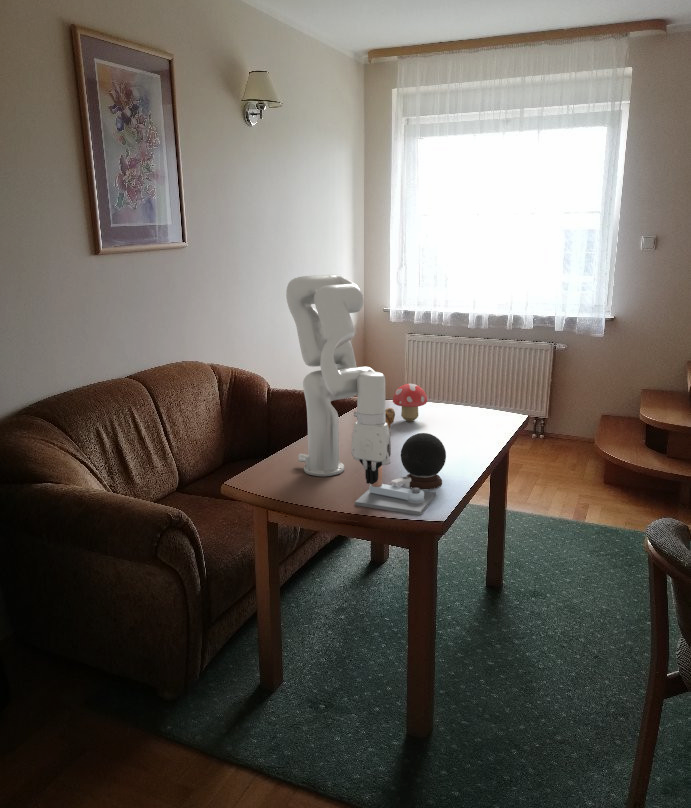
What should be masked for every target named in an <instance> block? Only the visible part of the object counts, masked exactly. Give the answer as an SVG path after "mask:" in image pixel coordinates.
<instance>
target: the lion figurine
mask: <svg viewBox="0 0 691 808" xmlns="http://www.w3.org/2000/svg"><path fill="white" fill-rule="evenodd" d="M395 416H396V411H395V409H394V408H393V407H387V408H385V423H387V424H388V428H389V430H390V428H391V425H393V423H394V421H395V418H396V417H395ZM389 434H390V435H391V431H389Z"/></svg>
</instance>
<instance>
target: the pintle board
mask: <svg viewBox="0 0 691 808" xmlns="http://www.w3.org/2000/svg"><path fill="white" fill-rule="evenodd" d="M390 481H391V482H390V483H391V484H390V485H391V486H397V487H399V486H401V485H402V488H407V489H411V488H410V482H411V478H410V477H407V475H406V476H403V477H399V478H395V479H392V480H390ZM423 491H424V501H422V502H411V501H409V500H405V499H400V498H395V497H390V496H385V495H380V494H375V493H370V492H369V489H366V491H365V492H364V493H363V494H361V496H360V497H359V498H357V499H356V500H355V501H354V505H355V506H358V507H365V508H372V509H377V510H385V511H390V512H396V513H397V512H398V513H403V514H410V515H416V516H421V515H422V514H423V513H424V511H426V509H427V508H428V506H429V505H430V504H431V503H432V501H434V499H435V498H436V496H437V492H436V491H430V490H428V491H427V490H423Z"/></svg>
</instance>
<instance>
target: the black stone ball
mask: <svg viewBox="0 0 691 808" xmlns="http://www.w3.org/2000/svg"><path fill="white" fill-rule="evenodd" d="M400 450H401V451H400V459H401V460H400V461H401V464H402V466H403V468H404V469H405V471H406V472H407V473H408V474H407V475H406V476H407V477H410V478H411V482H410V487H412V488H419V489H420V490H421V489H428V490H434V488H435V489H438V488H440V487H441V486H442V485H443V480H442V478H441V476H440V475H439V473H440V471H442V470H443V467H444V466H445V464H446V459H447V451H446V449H445V445H444V444H443V442H442V440H441V439H439V438H438V437H437V436H435V435H433V434H431V433H428V432H420V433H415V434H412V435H411V436H410V437H409V438H407V439H406V440H405V442H403V444H402V447H401V449H400ZM439 486H440V487H439ZM437 487H438V488H437ZM412 488H411V489H412Z"/></svg>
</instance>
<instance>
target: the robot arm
mask: <svg viewBox="0 0 691 808" xmlns="http://www.w3.org/2000/svg"><path fill="white" fill-rule="evenodd" d="M285 296H286V303H287V307H288V309H289V312H290V314H291V316H292V319H293V320H294V323H295V327H296V331H297V337H298V343H299V348H300V352H301V356H302V360H303V362H304V364H305V365H306V366H308V367H312V368H314V367H320V370H315V371H311V372H309V373H308V374H306V375H305V376H304V378H303V382H302V388H303V389H302V390H303V394H304V399H305V405H306V418H307V419H306V420H307V446H308V448H307V449H308V450H307V452H308V453H307V454H305V453H299V454H298V455H297V457H298V460H297V461H298V463H304V464H305V465H304V466H303V471H304V472H305V474H307V475H309V476H314V477H331V476H332V477H333V476H336V475H338V474H341V473H343V472H344V470H345V465H344V464H343V463H342V462H340V437H339V436H340V429H339V423H340V422H339V414H338V411H337V410H336V409H335V407H334V406H333V405H332V403H331V402H332V401H337V400H343V399H344V400H345V399H350V398H353V397H355V396H356V397H357V398H356V399H357V400H356V401H357V407H356V408H357V410H356V411H354V412H353V416H354V417H356V421H355V422H354V424H353V430H352V437H351V438H352V439H351V455H352V457H353V460H356V461H358V462H359V463H360V464H361V465H362V466H363V469H364V470H365V472H364V473H365V481H366V484H368V485H369V484H370V485H371V484H374V483H375V482H377V480H378V468H380V467H381V466H382V467H383V466H388V465H390V464H391V459H390V457H391V455H392V453H391V451H392V450H391V449H392V447H391V445H392V444H391V436H390V435H391V433H390V434H389V432H390V429H389V428H388V424H387V423H385V410H386V377H385V374H383V373H382V372H380V371H375V370H374V369H373V368H371V367H370V366H357V362H356V356H355V352H354V348H353V345H352V342H351V340H352V339H353V338H354V337H355V335H356V328H355V325H354V323H353V320H352V317H351V314H355V313H359V312H360V311H361V310H362V309H363V307H364V303H365V302H364V295H363V293H362V289H360V287H359V286H358V285H357V284H356V283H355V282H353V281H351V280H350V279H347V278H346V277H344V276H341V275H338V274H317V275H316V274H315V275H314V274H313V275H303V276H297V277H294V278H293V279H290V281H289V282H288V283H287V286H286V294H285ZM312 305H315V308H314V307H313V306H312Z"/></svg>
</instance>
